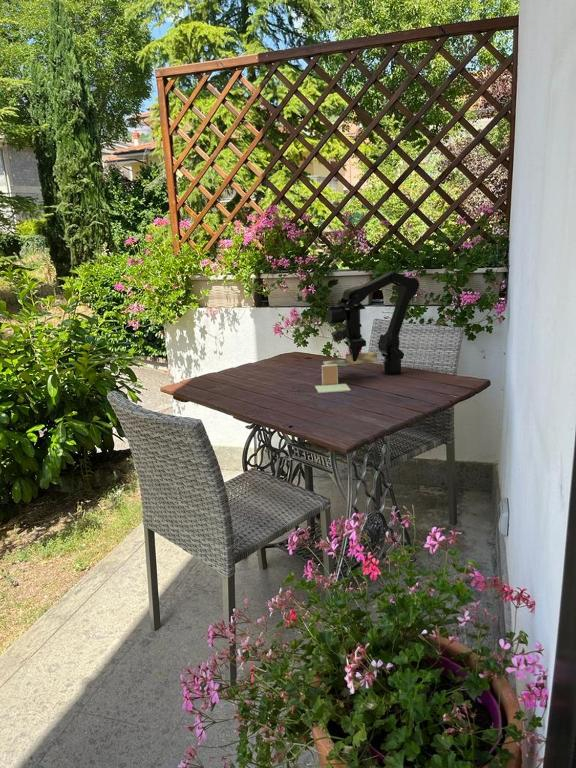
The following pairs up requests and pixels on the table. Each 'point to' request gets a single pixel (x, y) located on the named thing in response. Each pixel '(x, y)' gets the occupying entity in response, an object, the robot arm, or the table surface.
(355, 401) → the table surface
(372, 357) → the turner
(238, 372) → the table surface
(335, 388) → the mat
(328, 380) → the tile
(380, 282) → the robot arm
